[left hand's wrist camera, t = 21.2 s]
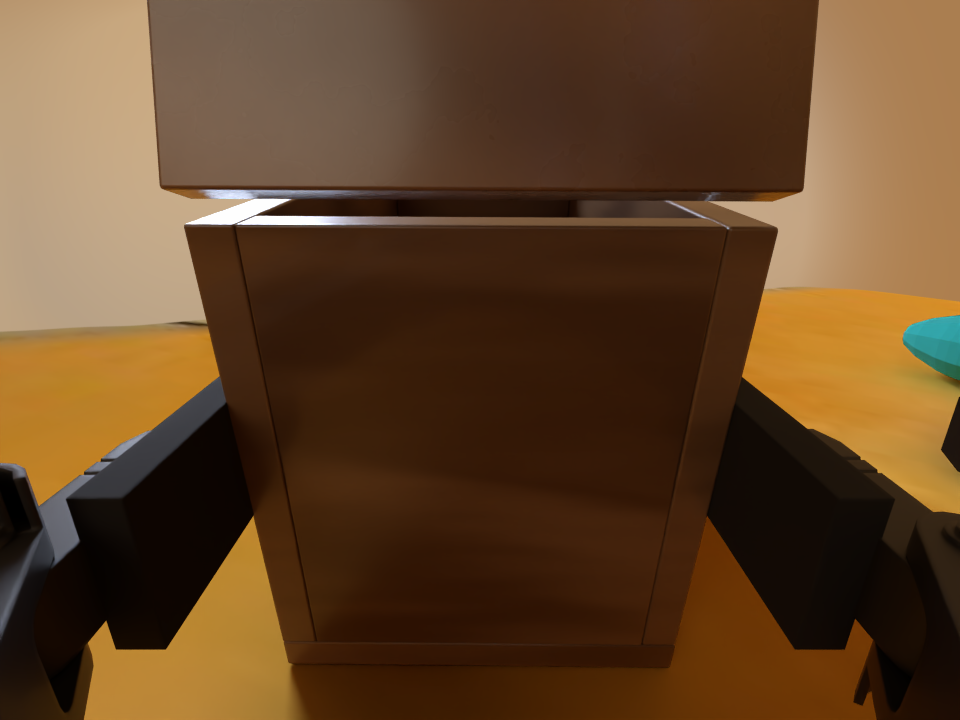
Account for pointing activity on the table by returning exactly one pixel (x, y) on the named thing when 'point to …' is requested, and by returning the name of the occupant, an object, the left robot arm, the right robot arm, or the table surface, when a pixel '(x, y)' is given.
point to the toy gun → (940, 365)
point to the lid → (483, 99)
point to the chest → (480, 416)
